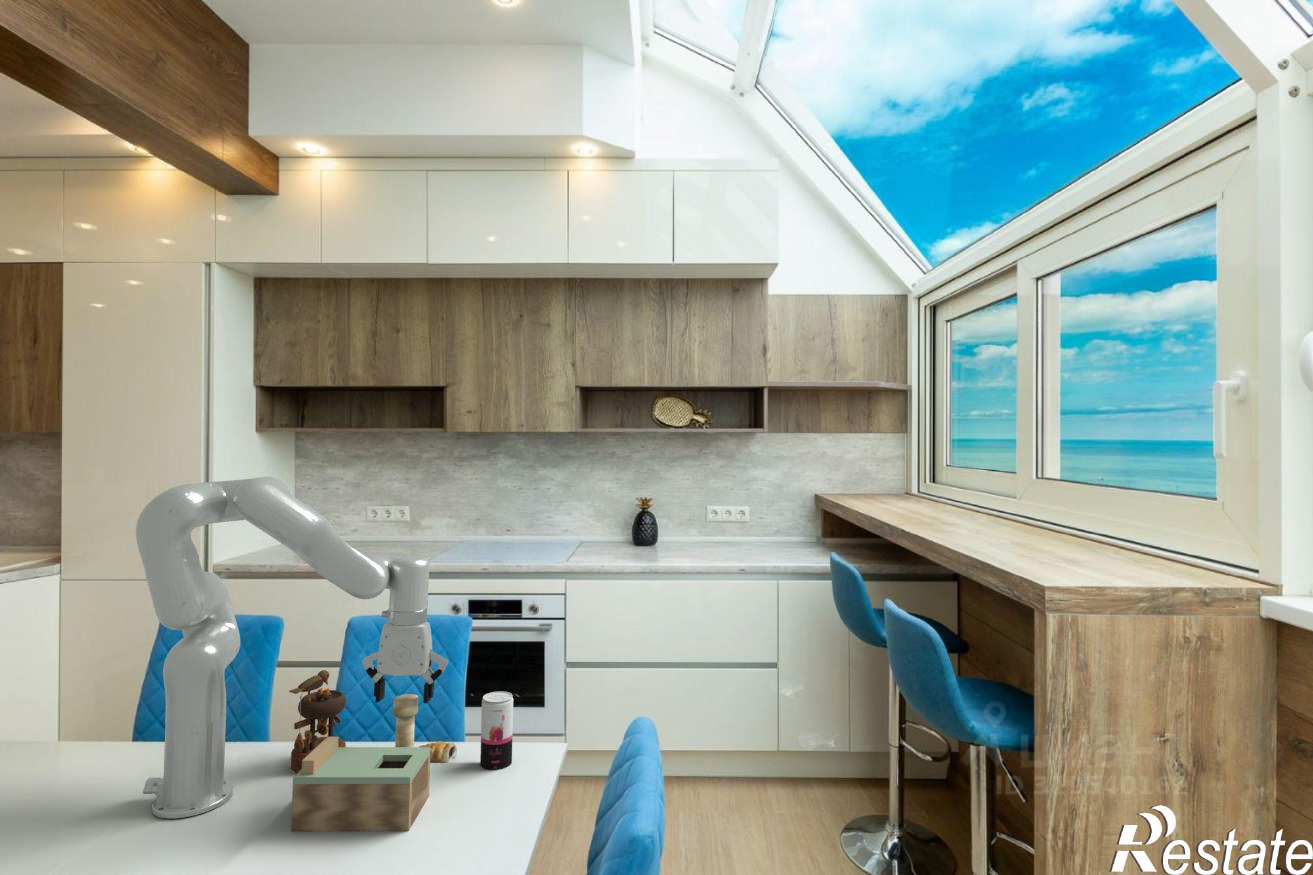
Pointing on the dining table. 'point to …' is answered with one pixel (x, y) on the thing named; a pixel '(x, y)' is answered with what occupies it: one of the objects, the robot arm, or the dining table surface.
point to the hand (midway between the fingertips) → (403, 700)
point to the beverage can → (496, 730)
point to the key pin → (405, 719)
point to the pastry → (441, 752)
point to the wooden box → (360, 804)
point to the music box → (316, 716)
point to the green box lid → (359, 764)
